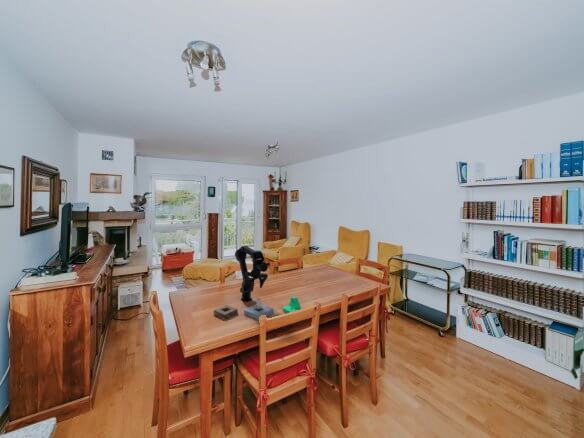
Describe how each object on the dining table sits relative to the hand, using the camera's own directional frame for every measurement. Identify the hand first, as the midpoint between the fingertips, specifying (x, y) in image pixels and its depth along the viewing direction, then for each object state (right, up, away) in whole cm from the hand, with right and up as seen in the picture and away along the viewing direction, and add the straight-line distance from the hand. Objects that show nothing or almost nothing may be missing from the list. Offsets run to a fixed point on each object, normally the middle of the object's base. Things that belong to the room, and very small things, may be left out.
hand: (256, 289), depth 180 cm
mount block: (-19, -13, -13) cm, 26 cm away
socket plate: (+3, -13, -11) cm, 18 cm away
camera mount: (+26, -14, -8) cm, 30 cm away
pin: (+3, -13, -11) cm, 18 cm away
